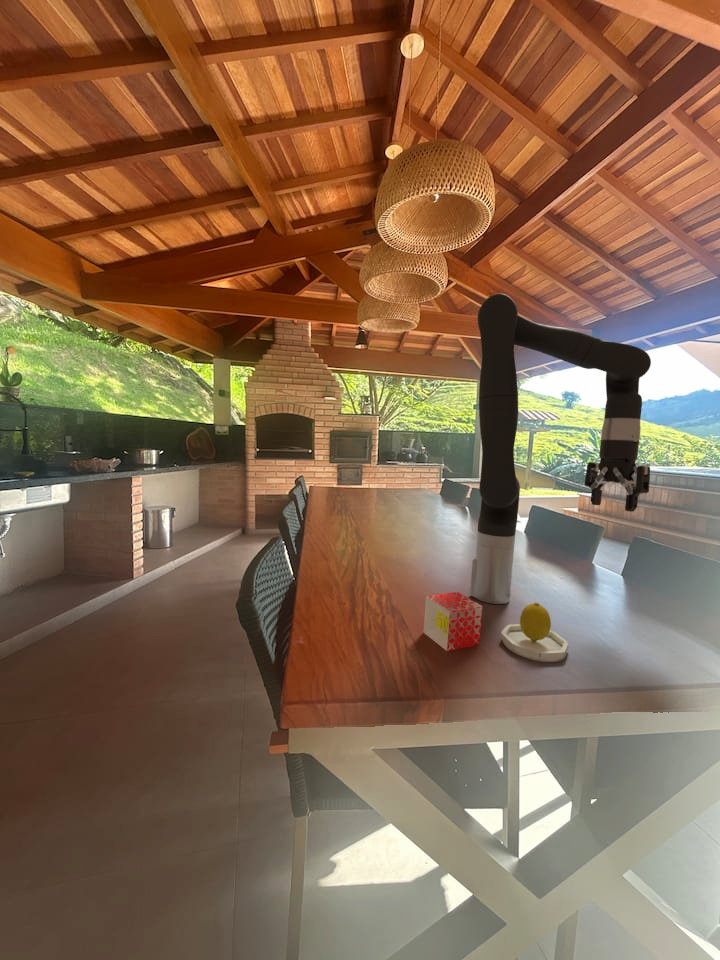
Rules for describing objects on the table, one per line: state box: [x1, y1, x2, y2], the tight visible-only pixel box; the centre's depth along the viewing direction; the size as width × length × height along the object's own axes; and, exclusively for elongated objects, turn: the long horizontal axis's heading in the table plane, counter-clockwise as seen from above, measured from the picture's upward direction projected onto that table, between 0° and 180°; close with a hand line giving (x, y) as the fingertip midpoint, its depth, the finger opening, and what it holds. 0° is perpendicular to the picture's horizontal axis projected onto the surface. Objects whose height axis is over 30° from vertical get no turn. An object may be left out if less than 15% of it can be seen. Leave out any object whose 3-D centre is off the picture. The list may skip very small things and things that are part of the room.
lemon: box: [519, 602, 552, 642], centre depth 79 cm, size 6×6×8 cm
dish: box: [500, 623, 570, 663], centre depth 79 cm, size 12×12×2 cm
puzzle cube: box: [423, 591, 483, 652], centre depth 81 cm, size 8×8×8 cm
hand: (612, 508), depth 94 cm, fingers open, 8 cm apart
